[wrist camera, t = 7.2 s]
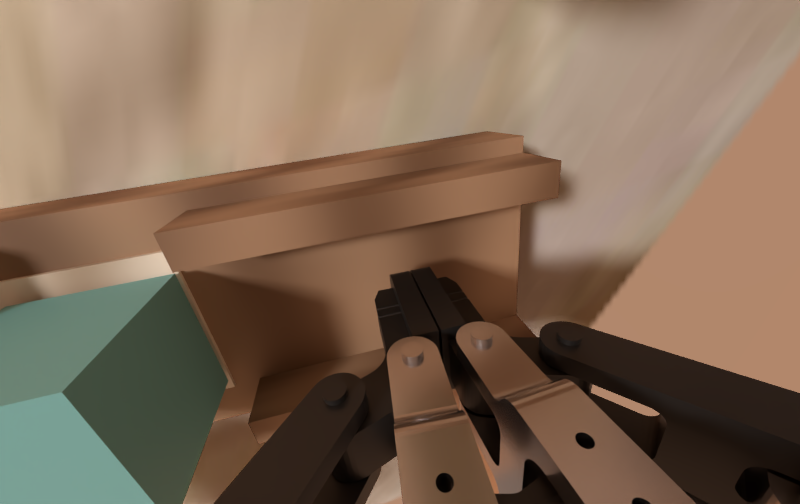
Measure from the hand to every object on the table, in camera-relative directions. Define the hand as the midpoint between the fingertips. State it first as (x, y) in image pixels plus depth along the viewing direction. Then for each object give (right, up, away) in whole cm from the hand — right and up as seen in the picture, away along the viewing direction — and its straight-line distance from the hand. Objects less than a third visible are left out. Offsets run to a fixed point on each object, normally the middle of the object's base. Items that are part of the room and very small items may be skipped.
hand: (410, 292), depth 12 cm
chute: (-6, 0, +3) cm, 6 cm away
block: (-10, -2, 0) cm, 10 cm away
